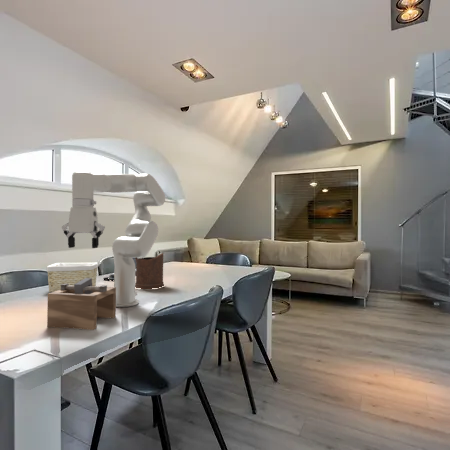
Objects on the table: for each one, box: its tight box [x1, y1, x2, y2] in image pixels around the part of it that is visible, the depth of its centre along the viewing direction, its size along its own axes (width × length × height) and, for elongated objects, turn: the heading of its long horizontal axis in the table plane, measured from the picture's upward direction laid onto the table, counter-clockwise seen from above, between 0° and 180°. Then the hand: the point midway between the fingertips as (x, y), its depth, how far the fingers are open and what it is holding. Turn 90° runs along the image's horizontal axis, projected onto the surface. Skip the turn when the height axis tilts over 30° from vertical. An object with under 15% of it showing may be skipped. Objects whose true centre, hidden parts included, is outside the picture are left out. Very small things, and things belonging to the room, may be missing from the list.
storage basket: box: [46, 261, 99, 293], centre depth 178 cm, size 24×16×15 cm
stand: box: [46, 284, 117, 331], centre depth 120 cm, size 16×18×14 cm
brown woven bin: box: [135, 252, 165, 289], centre depth 189 cm, size 18×24×25 cm
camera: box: [102, 273, 114, 280], centre depth 209 cm, size 5×10×4 cm, turn 66°
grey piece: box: [74, 278, 93, 294], centre depth 120 cm, size 8×2×8 cm, turn 174°
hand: (83, 247), depth 123 cm, fingers open, 9 cm apart
